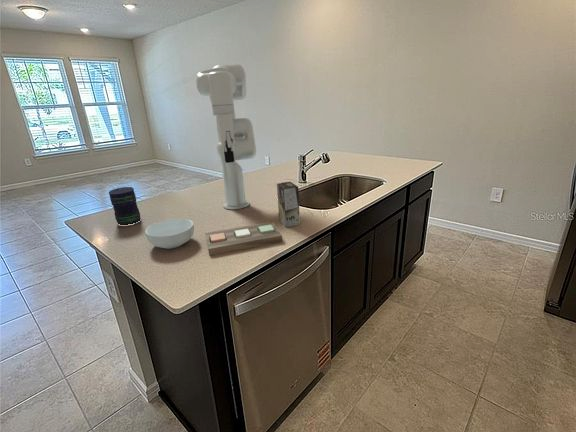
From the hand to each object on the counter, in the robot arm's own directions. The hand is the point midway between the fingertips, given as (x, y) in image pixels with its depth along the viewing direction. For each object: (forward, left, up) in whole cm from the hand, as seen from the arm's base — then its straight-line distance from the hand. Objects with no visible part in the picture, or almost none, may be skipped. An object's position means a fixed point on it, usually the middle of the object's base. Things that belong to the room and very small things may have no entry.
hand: (229, 161), depth 116 cm
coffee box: (+3, +21, -27) cm, 35 cm away
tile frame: (+12, 0, -27) cm, 30 cm away
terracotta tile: (+12, -9, -27) cm, 31 cm away
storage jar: (-27, -44, -27) cm, 58 cm away
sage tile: (+12, +9, -27) cm, 31 cm away
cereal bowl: (+4, -25, -27) cm, 37 cm away
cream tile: (+12, 0, -27) cm, 29 cm away
